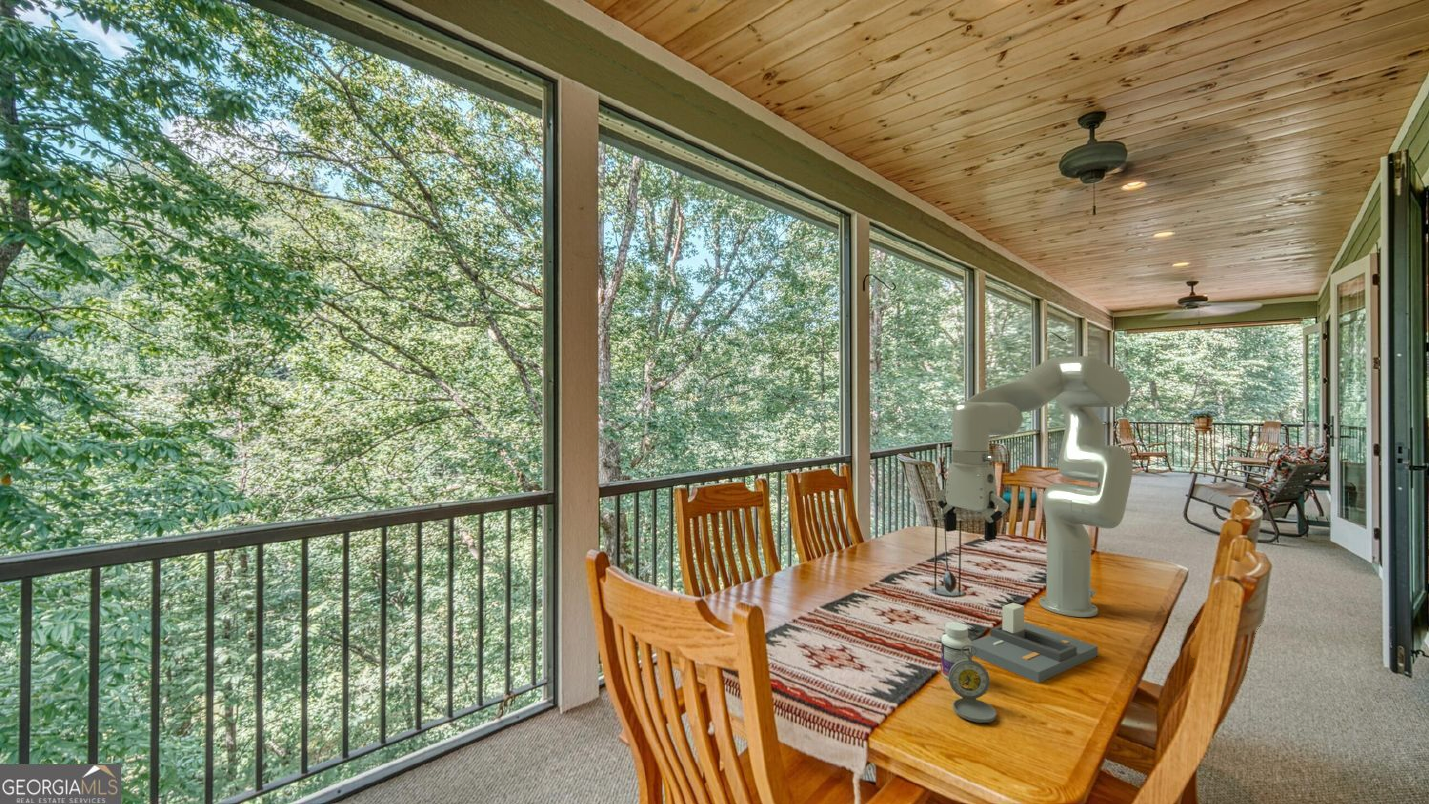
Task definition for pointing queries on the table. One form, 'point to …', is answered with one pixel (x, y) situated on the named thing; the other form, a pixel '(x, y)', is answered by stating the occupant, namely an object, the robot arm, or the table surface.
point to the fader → (1013, 619)
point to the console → (1033, 651)
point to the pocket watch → (971, 689)
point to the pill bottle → (954, 646)
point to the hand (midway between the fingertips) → (969, 535)
